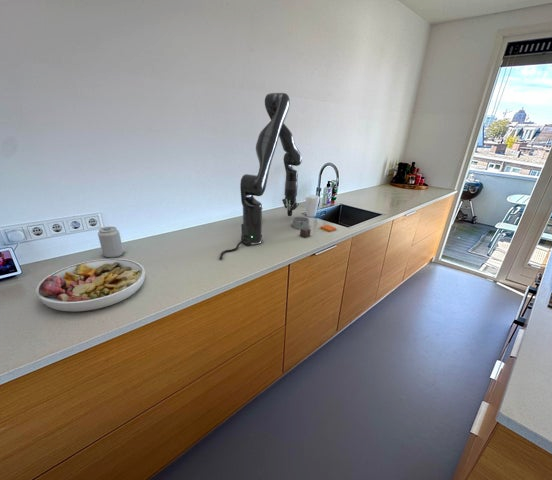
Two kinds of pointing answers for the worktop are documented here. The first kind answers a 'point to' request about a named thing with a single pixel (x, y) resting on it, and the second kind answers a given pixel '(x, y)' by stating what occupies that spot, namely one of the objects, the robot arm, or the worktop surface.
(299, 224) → the steel pot
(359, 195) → the worktop surface
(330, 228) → the orange cloth
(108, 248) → the can
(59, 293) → the bowl
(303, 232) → the walnut block
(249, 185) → the robot arm
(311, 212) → the foam cup
